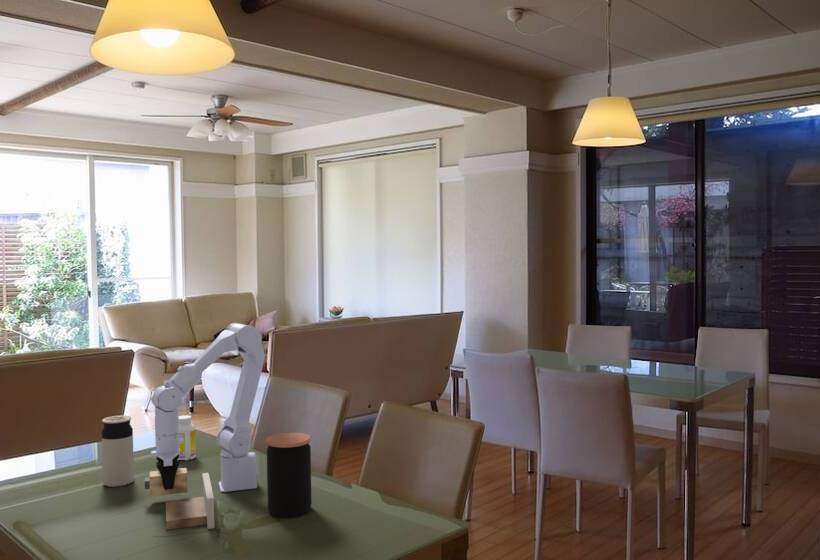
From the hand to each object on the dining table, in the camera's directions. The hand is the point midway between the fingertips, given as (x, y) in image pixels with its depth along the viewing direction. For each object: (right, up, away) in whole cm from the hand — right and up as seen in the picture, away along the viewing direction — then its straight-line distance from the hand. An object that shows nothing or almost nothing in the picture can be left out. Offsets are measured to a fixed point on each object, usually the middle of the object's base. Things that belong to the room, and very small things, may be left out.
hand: (168, 486), depth 184 cm
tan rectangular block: (0, -1, 0) cm, 1 cm away
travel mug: (-19, -4, +15) cm, 24 cm away
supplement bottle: (-8, -2, +38) cm, 39 cm away
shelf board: (+13, -4, -9) cm, 16 cm away
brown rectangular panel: (+8, -4, -11) cm, 14 cm away
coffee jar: (+32, -4, -8) cm, 34 cm away
